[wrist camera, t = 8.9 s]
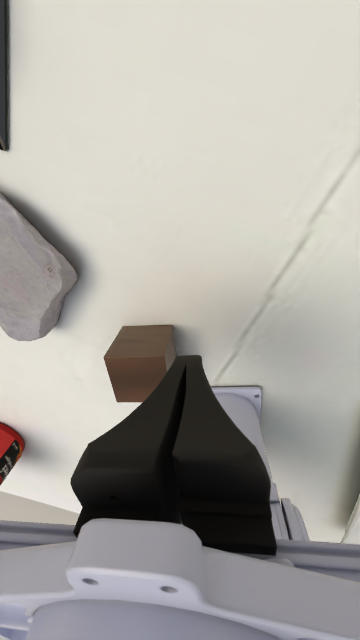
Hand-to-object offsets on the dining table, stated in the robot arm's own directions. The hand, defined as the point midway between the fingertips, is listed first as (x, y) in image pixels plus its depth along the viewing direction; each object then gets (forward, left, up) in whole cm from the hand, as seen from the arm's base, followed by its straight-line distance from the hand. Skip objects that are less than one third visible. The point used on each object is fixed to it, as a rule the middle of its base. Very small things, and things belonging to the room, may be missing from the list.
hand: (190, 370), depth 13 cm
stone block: (+6, +16, -10) cm, 19 cm away
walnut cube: (-5, +5, -9) cm, 12 cm away
